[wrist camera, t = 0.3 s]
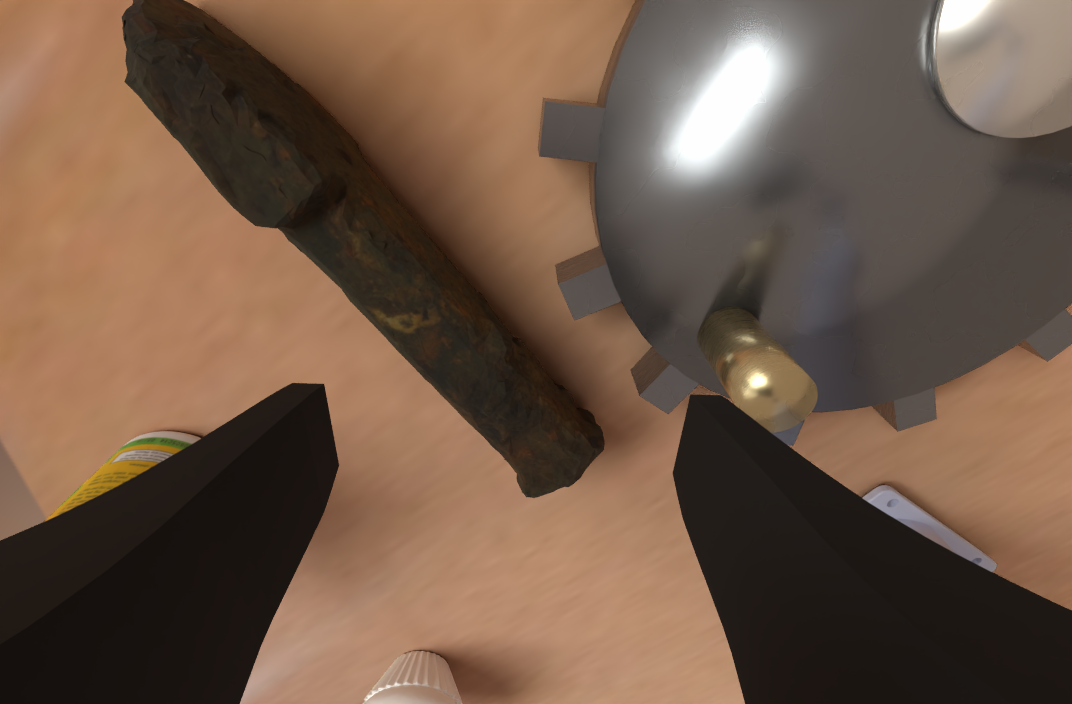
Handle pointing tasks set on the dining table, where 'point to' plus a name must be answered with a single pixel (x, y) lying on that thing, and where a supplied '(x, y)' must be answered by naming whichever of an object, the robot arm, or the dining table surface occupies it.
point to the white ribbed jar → (416, 681)
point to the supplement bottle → (128, 464)
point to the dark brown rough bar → (351, 232)
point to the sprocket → (827, 197)
